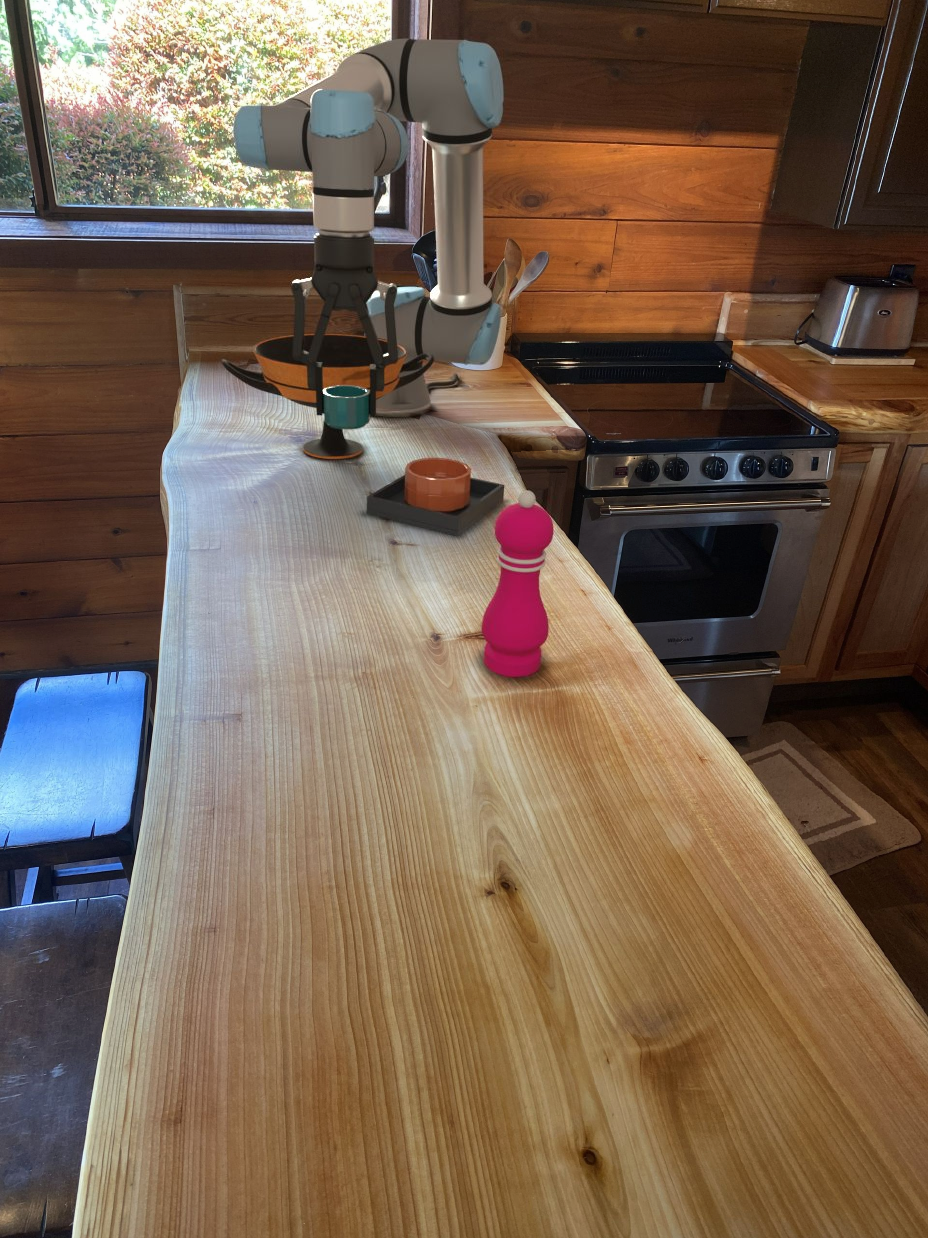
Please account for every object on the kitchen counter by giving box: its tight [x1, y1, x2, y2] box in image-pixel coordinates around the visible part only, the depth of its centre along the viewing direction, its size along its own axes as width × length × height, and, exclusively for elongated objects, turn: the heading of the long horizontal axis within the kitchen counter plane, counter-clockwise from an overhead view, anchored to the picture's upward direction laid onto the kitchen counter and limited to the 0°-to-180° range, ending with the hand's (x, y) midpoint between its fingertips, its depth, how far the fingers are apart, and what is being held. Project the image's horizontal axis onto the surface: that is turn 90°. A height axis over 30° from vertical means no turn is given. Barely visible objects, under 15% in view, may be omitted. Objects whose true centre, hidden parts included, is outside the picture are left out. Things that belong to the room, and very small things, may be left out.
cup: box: [220, 332, 434, 460], centre depth 155 cm, size 36×26×18 cm
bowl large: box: [404, 457, 472, 513], centre depth 136 cm, size 10×10×6 cm
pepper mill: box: [480, 490, 555, 678], centre depth 94 cm, size 7×7×20 cm
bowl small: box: [322, 385, 371, 430], centre depth 124 cm, size 6×6×4 cm
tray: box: [366, 474, 505, 537], centre depth 137 cm, size 16×15×3 cm
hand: (346, 412), depth 124 cm, fingers closed on bowl small, 6 cm apart
